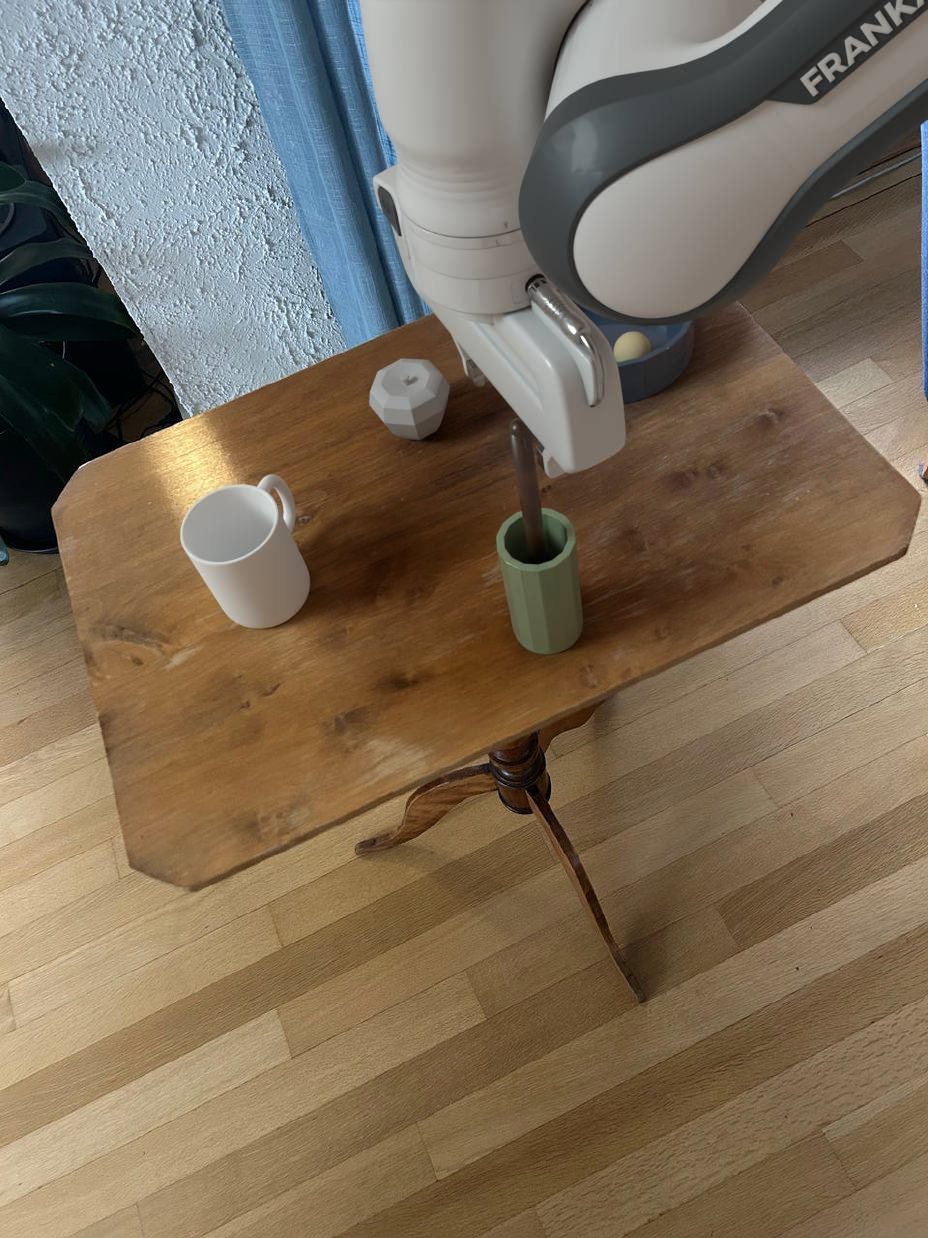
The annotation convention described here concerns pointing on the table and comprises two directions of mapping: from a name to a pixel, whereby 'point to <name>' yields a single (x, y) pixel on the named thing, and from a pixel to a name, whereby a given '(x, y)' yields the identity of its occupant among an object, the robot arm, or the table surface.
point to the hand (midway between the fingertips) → (517, 420)
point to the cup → (248, 552)
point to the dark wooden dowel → (528, 490)
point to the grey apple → (410, 398)
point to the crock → (542, 584)
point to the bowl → (649, 355)
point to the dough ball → (631, 346)
